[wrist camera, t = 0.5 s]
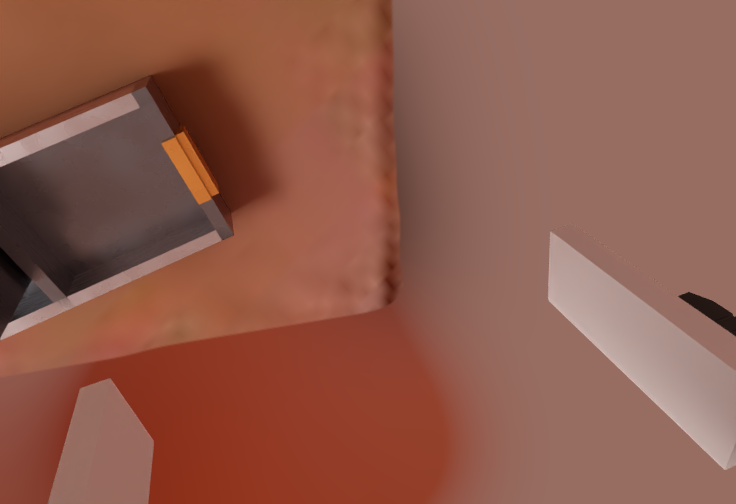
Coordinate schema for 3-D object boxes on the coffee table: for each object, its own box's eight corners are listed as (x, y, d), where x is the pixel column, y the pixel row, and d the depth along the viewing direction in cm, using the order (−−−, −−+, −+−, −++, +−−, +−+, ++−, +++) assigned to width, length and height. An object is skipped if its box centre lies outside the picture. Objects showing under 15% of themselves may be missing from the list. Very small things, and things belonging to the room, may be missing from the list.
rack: (-155, 203, 33) (-292, 294, 24) (159, 71, 34) (144, 109, 25) (-20, 325, 39) (-85, 432, 30) (237, 210, 41) (248, 279, 32)
